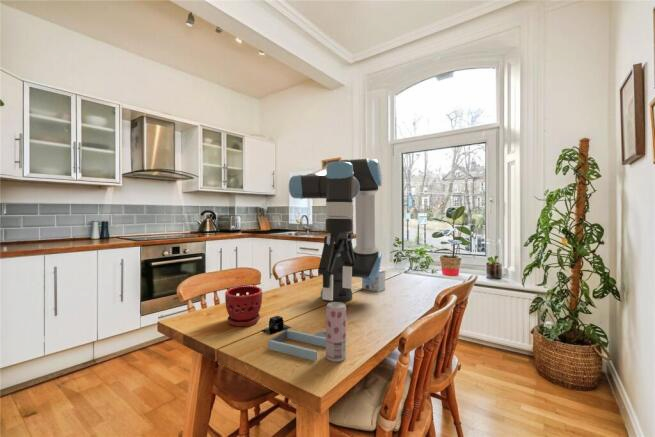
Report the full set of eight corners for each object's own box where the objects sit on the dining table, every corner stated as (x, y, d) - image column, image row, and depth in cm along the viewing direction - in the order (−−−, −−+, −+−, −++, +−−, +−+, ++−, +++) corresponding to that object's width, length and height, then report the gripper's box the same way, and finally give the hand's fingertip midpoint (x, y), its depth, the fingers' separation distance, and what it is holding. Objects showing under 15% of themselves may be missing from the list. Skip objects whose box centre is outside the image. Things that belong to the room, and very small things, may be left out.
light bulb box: (361, 288, 159) (361, 268, 159) (368, 286, 164) (368, 266, 164) (379, 292, 152) (379, 271, 152) (385, 289, 157) (385, 269, 157)
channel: (286, 336, 97) (286, 329, 97) (330, 346, 90) (330, 338, 90) (268, 348, 88) (268, 340, 88) (315, 361, 82) (315, 352, 81)
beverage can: (334, 350, 88) (335, 300, 87) (349, 357, 84) (350, 304, 84) (321, 357, 84) (322, 304, 83) (337, 364, 80) (337, 309, 79)
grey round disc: (319, 331, 101) (319, 329, 101) (341, 336, 98) (341, 334, 98) (308, 340, 94) (308, 338, 94) (331, 345, 91) (331, 343, 91)
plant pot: (219, 321, 110) (219, 289, 110) (252, 313, 119) (252, 283, 118) (233, 332, 100) (233, 297, 100) (268, 323, 109) (268, 290, 108)
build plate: (267, 339, 96) (267, 325, 96) (254, 332, 101) (254, 319, 101) (296, 328, 105) (296, 315, 105) (283, 323, 110) (283, 310, 110)
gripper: (343, 217, 96) (342, 282, 96) (305, 218, 73) (304, 303, 74) (365, 217, 93) (364, 285, 93) (332, 218, 70) (331, 307, 70)
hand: (338, 293), depth 83 cm, fingers open, 13 cm apart
